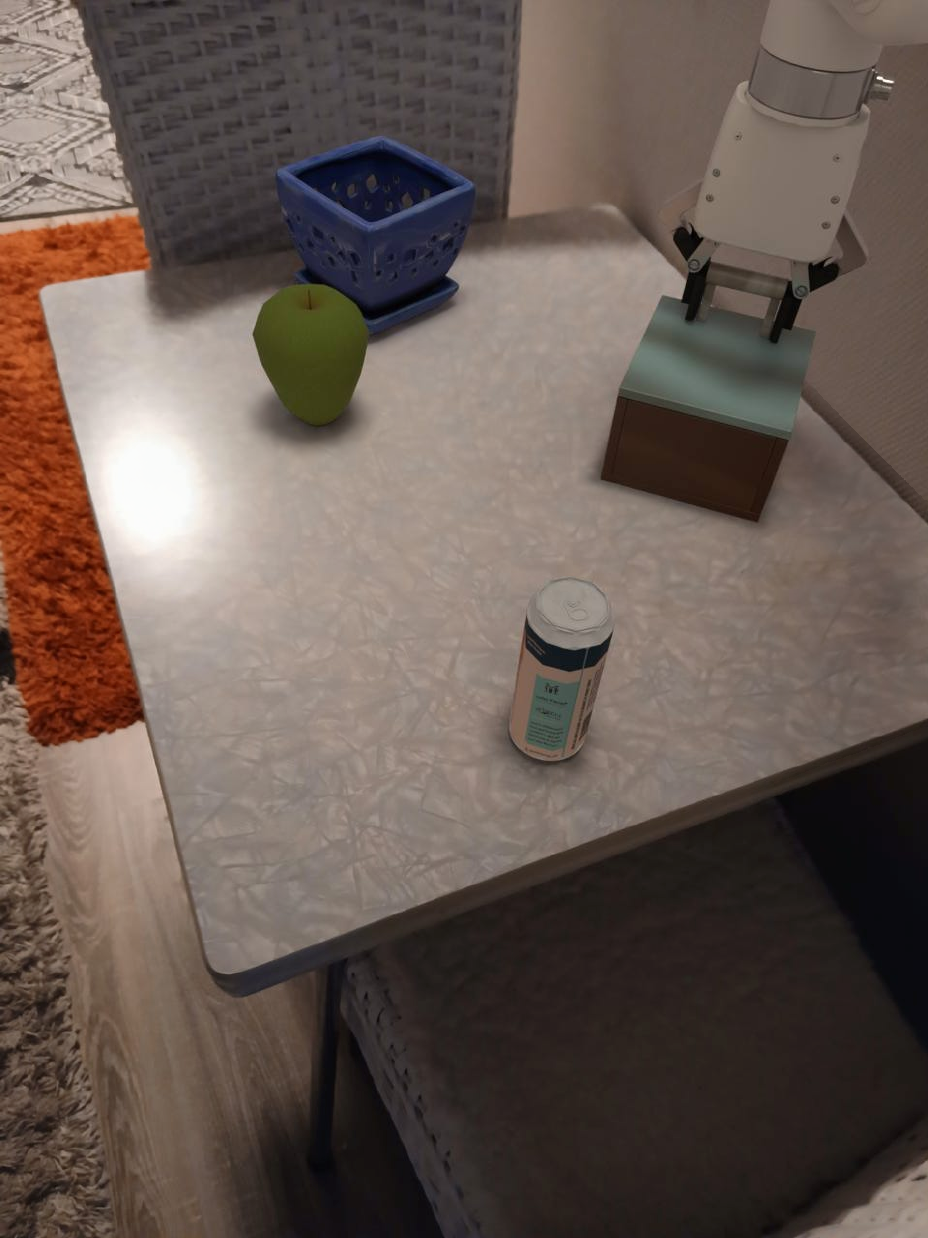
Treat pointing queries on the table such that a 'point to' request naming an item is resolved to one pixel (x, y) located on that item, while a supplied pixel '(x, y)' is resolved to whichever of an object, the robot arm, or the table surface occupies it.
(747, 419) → the lid
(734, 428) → the chest
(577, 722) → the beer can
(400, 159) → the flower pot
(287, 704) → the table surface
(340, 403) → the apple
